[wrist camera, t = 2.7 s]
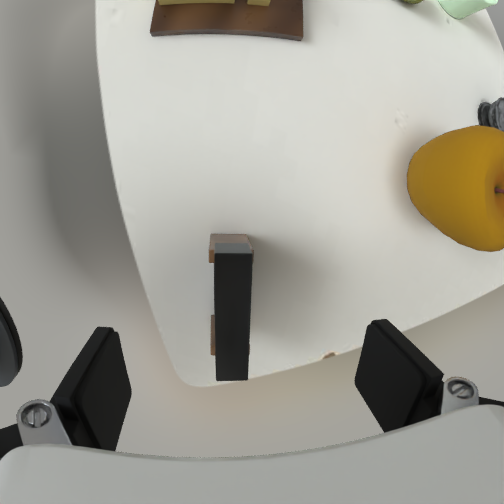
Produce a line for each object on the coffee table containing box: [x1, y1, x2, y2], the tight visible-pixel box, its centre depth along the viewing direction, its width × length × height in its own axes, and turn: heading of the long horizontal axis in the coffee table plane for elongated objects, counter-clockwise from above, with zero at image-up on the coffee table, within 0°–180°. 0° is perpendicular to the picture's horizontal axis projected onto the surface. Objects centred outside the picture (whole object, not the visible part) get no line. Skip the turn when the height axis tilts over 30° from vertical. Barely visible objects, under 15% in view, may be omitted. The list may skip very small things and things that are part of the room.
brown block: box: [209, 234, 254, 355], centre depth 25 cm, size 3×9×6 cm, turn 178°
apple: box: [407, 125, 504, 252], centre depth 21 cm, size 11×11×13 cm
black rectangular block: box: [214, 243, 253, 381], centre depth 24 cm, size 2×10×8 cm, turn 178°
